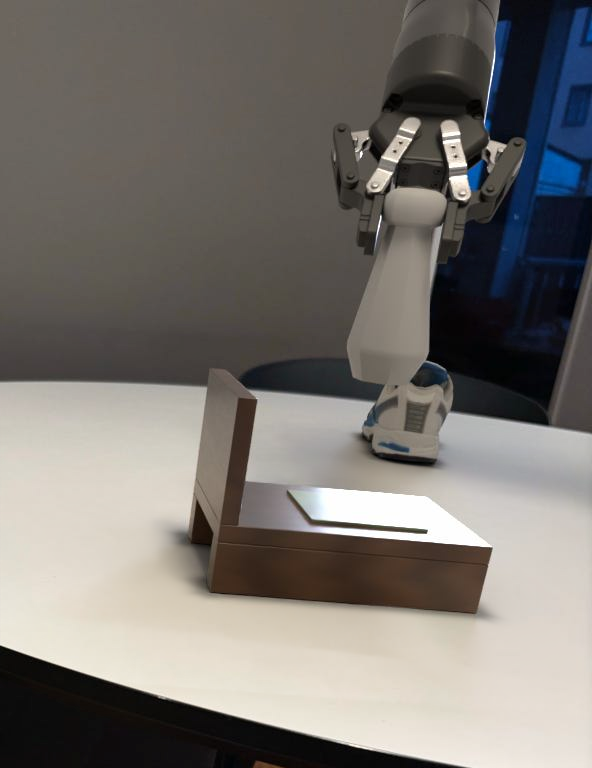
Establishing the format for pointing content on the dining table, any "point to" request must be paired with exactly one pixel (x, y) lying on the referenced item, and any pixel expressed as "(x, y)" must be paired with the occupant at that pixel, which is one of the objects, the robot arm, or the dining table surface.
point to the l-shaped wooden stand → (321, 529)
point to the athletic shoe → (411, 416)
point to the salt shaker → (398, 292)
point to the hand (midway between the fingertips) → (406, 249)
